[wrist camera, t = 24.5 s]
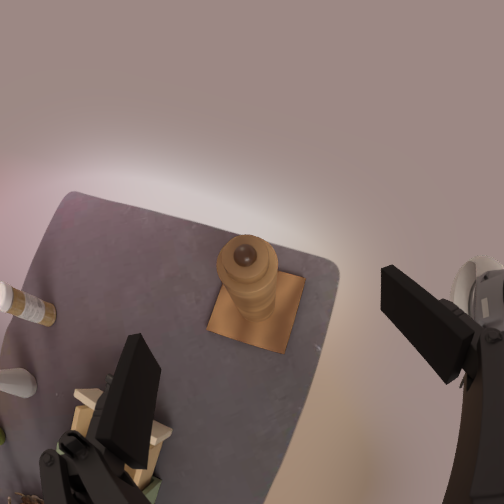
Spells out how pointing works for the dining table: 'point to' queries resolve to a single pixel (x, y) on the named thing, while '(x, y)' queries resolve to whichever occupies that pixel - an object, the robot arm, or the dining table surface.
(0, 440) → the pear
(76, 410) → the drawer
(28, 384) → the salt shaker
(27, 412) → the dining table surface
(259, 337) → the square wooden board
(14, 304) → the spice jar
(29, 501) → the food dish
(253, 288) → the pepper mill
